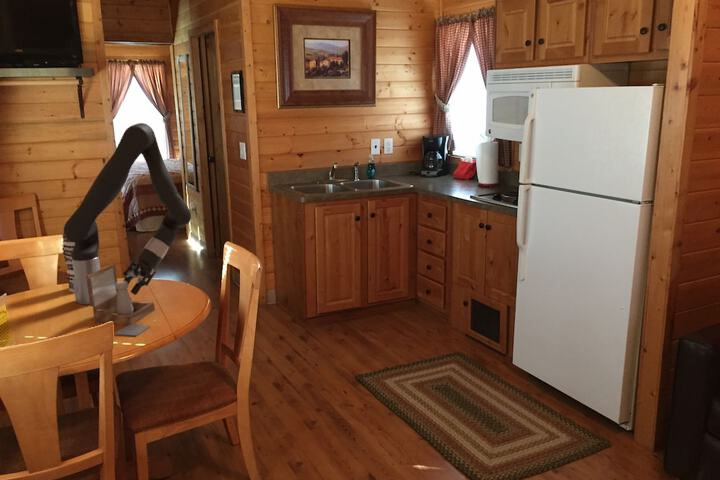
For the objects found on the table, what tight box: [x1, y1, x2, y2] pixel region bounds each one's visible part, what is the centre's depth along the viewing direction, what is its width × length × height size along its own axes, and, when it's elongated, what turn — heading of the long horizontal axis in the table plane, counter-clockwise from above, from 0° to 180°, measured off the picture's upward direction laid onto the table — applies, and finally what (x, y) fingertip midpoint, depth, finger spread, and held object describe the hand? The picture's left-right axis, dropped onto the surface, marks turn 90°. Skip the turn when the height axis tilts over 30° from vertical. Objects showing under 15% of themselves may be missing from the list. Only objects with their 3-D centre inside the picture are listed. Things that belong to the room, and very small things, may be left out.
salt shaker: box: [115, 280, 135, 316], centre depth 215 cm, size 6×6×13 cm
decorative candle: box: [61, 230, 75, 293], centre depth 244 cm, size 9×9×25 cm
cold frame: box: [86, 263, 156, 326], centre depth 214 cm, size 15×15×17 cm
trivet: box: [114, 324, 151, 338], centre depth 203 cm, size 8×8×1 cm
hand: (127, 290), depth 215 cm, fingers open, 8 cm apart
